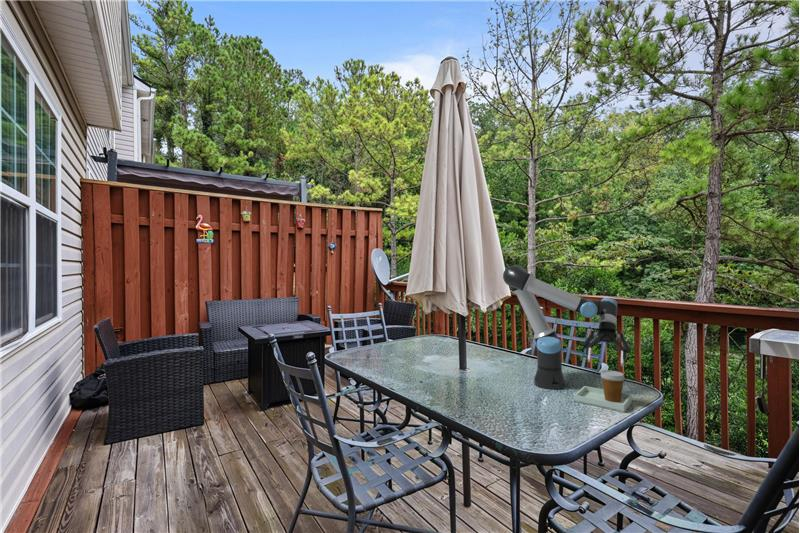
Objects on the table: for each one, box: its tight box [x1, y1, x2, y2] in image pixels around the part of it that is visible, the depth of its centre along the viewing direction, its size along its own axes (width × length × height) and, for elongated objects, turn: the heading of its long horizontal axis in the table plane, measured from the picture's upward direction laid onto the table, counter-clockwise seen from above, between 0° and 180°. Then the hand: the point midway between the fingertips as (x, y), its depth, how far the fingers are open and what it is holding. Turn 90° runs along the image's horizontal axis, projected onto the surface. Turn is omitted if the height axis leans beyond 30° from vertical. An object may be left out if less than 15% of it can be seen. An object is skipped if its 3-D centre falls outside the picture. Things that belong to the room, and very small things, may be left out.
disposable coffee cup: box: [600, 369, 626, 402], centre depth 173 cm, size 10×10×12 cm
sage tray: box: [573, 385, 633, 413], centre depth 174 cm, size 20×16×3 cm
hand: (605, 362), depth 181 cm, fingers open, 13 cm apart
